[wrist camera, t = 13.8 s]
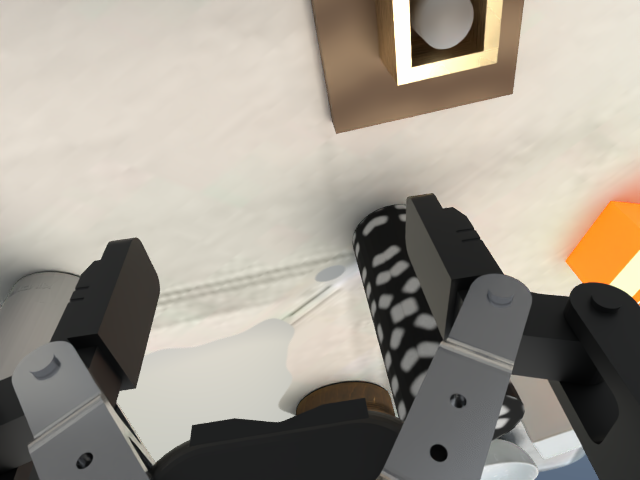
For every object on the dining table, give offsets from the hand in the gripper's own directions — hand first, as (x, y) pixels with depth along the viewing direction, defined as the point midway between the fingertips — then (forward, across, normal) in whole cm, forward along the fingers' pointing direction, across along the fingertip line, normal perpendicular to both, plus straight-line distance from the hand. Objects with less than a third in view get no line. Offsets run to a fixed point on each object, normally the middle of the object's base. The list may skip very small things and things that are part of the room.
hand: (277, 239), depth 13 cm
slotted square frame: (+21, -10, -2) cm, 23 cm away
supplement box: (+25, -28, +48) cm, 61 cm away
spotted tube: (+24, -9, +20) cm, 33 cm away
